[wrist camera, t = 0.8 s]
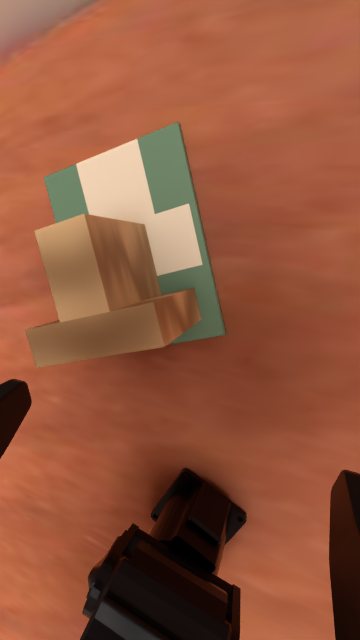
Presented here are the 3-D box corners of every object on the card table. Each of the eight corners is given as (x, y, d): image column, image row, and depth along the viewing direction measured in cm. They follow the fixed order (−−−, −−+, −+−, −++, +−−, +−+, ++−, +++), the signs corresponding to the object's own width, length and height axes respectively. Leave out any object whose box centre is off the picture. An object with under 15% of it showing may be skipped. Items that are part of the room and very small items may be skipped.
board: (226, 333, 26) (225, 334, 25) (95, 355, 30) (92, 356, 30) (180, 124, 24) (177, 121, 24) (47, 178, 28) (43, 177, 28)
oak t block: (201, 319, 26) (164, 347, 18) (102, 337, 29) (36, 367, 21) (177, 214, 25) (127, 198, 17) (78, 245, 28) (-1, 242, 20)
